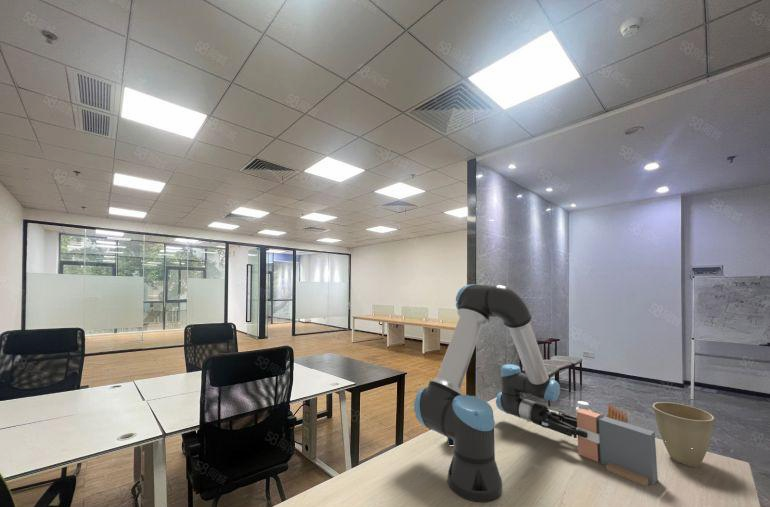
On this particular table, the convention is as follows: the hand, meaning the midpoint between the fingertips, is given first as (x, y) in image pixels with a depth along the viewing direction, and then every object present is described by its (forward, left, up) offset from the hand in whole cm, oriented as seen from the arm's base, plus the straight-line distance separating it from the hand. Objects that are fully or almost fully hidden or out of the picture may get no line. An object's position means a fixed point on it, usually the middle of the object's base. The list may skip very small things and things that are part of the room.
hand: (602, 436), depth 106 cm
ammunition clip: (-1, +20, -8) cm, 22 cm away
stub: (-4, 0, -8) cm, 9 cm away
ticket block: (+6, -1, -8) cm, 10 cm away
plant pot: (+17, +21, -8) cm, 29 cm away
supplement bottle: (-13, +22, -8) cm, 27 cm away
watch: (-39, -27, -8) cm, 48 cm away
